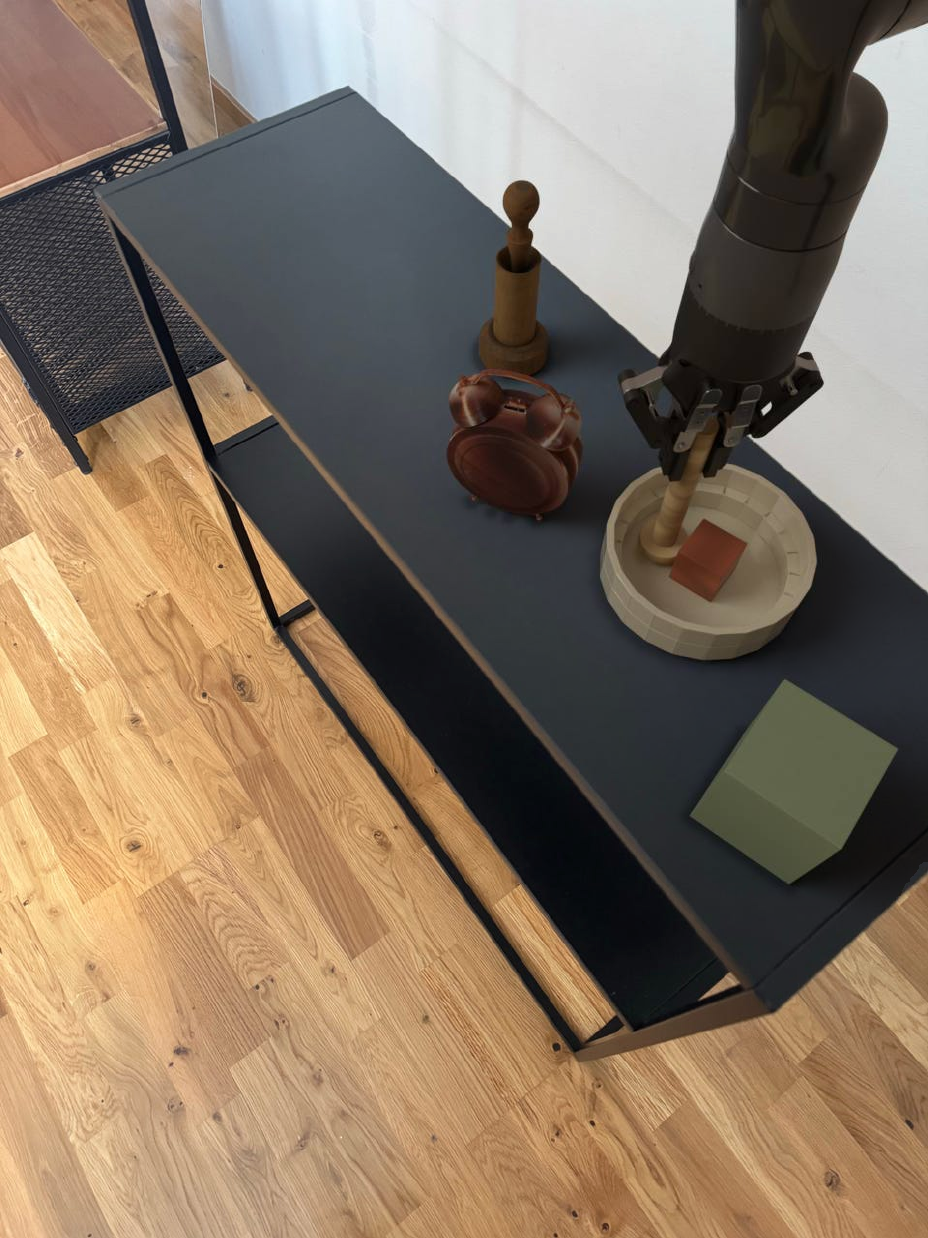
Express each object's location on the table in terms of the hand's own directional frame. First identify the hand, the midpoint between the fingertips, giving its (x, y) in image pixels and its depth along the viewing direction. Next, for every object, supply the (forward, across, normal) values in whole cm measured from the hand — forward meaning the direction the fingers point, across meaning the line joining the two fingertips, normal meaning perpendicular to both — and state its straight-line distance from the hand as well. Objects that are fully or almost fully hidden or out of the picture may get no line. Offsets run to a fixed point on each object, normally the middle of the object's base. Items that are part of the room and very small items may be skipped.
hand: (689, 469), depth 65 cm
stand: (+11, +3, -22) cm, 25 cm away
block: (+11, +3, -3) cm, 11 cm away
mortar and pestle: (+12, -9, +24) cm, 28 cm away
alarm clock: (+12, -12, +7) cm, 18 cm away
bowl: (+11, +3, -2) cm, 12 cm away
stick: (+10, 0, 0) cm, 10 cm away
